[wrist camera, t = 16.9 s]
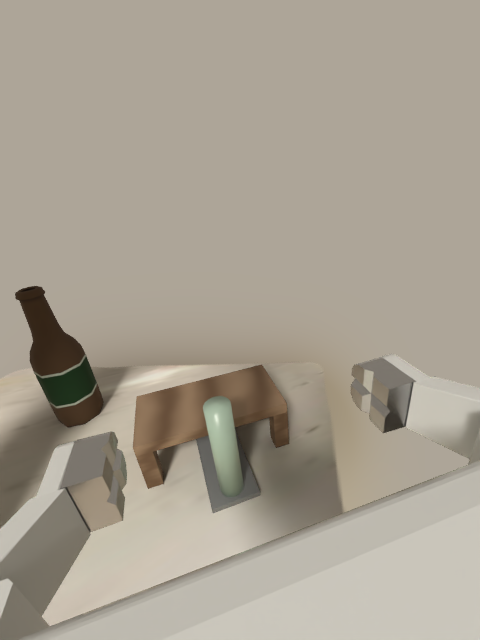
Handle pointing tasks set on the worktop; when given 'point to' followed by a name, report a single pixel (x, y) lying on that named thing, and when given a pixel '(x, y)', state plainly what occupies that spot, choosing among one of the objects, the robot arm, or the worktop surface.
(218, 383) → the bench
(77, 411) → the beer bottle
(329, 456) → the worktop surface
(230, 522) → the worktop surface
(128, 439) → the worktop surface
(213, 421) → the cylinder
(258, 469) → the worktop surface
